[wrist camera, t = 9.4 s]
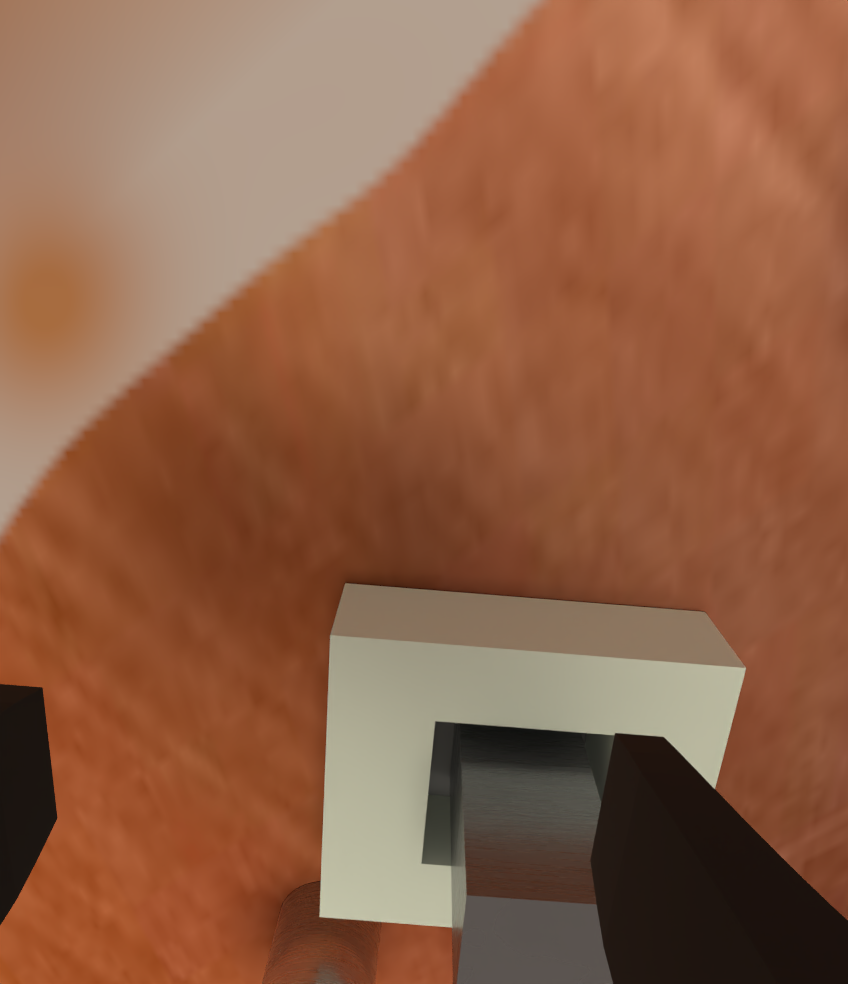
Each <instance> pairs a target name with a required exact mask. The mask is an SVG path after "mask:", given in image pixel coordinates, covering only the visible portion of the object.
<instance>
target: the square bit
mask: <svg viewBox="0 0 848 984" xmlns="http://www.w3.org/2000/svg"><path fill="white" fill-rule="evenodd" d="M600 807H601V801H600V797H599V794H598V790H597V787H596V783H595V780H594V776H593V773H592V770H591V766H590V763H589V759H588V756H587V752H586V749H585V745H584V742H583V738H582V735H581V733H579V732H566V731H554V730H541V729H529V728H516V727H503V726H491V725H478V724H465V723H455V727H454V737H453V748H452V758H451V768H450V826H451V890H452V954H453V984H613V981H612V978H611V974H610V970H609V966H608V962H607V958H606V954H605V950H604V947H603V941H602V935H601V928H600V922H599V916H598V910H597V904H596V897H595V890H594V883H593V876H592V869H591V862H590V858H591V853H592V848H593V843H594V838H595V833H596V828H597V823H598V818H599V812H600Z"/></svg>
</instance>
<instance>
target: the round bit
mask: <svg viewBox="0 0 848 984" xmlns="http://www.w3.org/2000/svg"><path fill="white" fill-rule="evenodd" d="M320 890H321V882H314V883H310V884H307V885H304V886H302V887H300V888H298V889H296V890H295V891H293V892H292V893H291V894H290V895H289V896H288V897H287V898H286V899H285V901H284V902H283V904H282V907H281V909H280V913H279V917H278V921H277V925H276V929H275V933H274V937H273V941H272V945H271V949H270V953H269V957H268V961H267V965H266V969H265V973H264V977H263V981H262V984H375V982H376V971H377V961H378V950H379V939H380V929H381V922H376V921H364V920H351V919H338V918H325V917H319V916H320Z"/></svg>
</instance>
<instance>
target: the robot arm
mask: <svg viewBox="0 0 848 984" xmlns="http://www.w3.org/2000/svg"><path fill="white" fill-rule="evenodd" d="M56 820H57V811H56V802H55V794H54V785H53V776H52V767H51V759H50V750H49V741H48V732H47V724H46V715H45V706H44V697H43V688H41V687H29V686H16V685H3V684H0V925H1V923H2V922H3V920H4V919H5V917H6V915H7V914H8V912H9V911H10V909H11V908H12V906H13V904H14V903H15V901H16V899H17V898H18V896H19V894H20V892H21V890H22V888H23V886H24V884H25V882H26V880H27V878H28V877H29V875H30V873H31V871H32V869H33V867H34V865H35V863H36V861H37V859H38V857H39V855H40V853H41V851H42V849H43V847H44V845H45V843H46V840H47V838H48V836H49V834H50V832H51V830H52V828H53V826H54V824H55V822H56ZM590 862H591V869H592V876H593V883H594V890H595V897H596V904H597V910H598V916H599V922H600V928H601V935H602V941H603V947H604V950H605V954H606V958H607V962H608V966H609V970H610V974H611V978H612V981H613V984H848V920H847V919H845V918H844V917H843V916H842V915H841V914H840V913H839V912H838V911H837V910H836V909H834V908H833V907H832V906H831V905H830V904H829V903H828V902H827V901H826V900H825V899H824V898H823V897H822V896H821V895H820V894H819V893H818V892H817V891H816V890H815V889H813V888H812V887H811V886H810V885H809V884H808V883H807V882H806V881H805V880H804V879H803V878H802V877H801V876H800V875H799V874H798V873H797V872H796V871H795V870H794V869H793V868H792V867H791V866H790V865H789V864H788V863H787V862H786V861H785V860H784V859H783V858H782V857H781V856H780V855H779V854H778V853H777V852H776V851H775V850H774V849H773V848H772V847H771V846H770V845H769V844H768V843H767V842H766V841H765V840H764V839H763V838H762V837H761V836H760V835H759V834H758V833H757V832H756V831H755V830H754V829H753V828H752V827H751V826H750V825H749V824H748V823H747V822H746V821H745V820H744V819H743V818H742V817H741V816H740V815H739V814H738V813H737V812H736V811H735V810H734V809H733V808H732V807H731V806H730V804H729V803H728V802H727V801H726V800H725V799H724V798H723V797H722V796H721V795H720V794H719V793H718V792H717V791H716V790H715V789H714V788H713V787H712V786H711V785H710V784H709V783H708V782H707V781H706V779H705V778H704V777H703V776H702V775H701V774H700V773H699V772H698V771H697V770H696V769H695V768H694V767H693V766H692V765H691V764H690V763H689V762H688V761H687V760H686V759H685V758H684V757H683V756H682V755H681V753H680V752H679V751H678V750H677V749H676V748H675V747H674V746H673V745H672V744H671V743H670V742H668V741H667V740H666V739H665V738H664V737H660V736H648V735H635V734H623V733H615V736H614V741H613V746H612V751H611V756H610V761H609V767H608V772H607V777H606V782H605V787H604V792H603V797H602V802H601V807H600V812H599V818H598V823H597V828H596V833H595V838H594V843H593V848H592V853H591V858H590Z"/></svg>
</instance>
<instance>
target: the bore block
mask: <svg viewBox="0 0 848 984" xmlns="http://www.w3.org/2000/svg"><path fill="white" fill-rule="evenodd" d="M745 671H746V667H745V666H744V665H743V663H742V662H741V660H740V659H739V658H738V656H737V655H736V654H735V652H734V651H733V649H732V648H731V647H730V645H729V644H728V643H727V641H726V640H725V638H724V637H723V636H722V634H721V633H720V632H719V630H718V629H717V628H716V626H715V625H714V623H713V622H712V621H711V619H710V618H709V617H708V615H707V614H706V612H701V611H688V610H676V609H663V608H650V607H638V606H625V605H613V604H600V603H588V602H575V601H562V600H550V599H537V598H525V597H512V596H500V595H487V594H475V593H462V592H449V591H437V590H424V589H412V588H399V587H387V586H374V585H361V584H349V583H345V586H344V589H343V593H342V596H341V600H340V603H339V607H338V610H337V613H336V617H335V620H334V624H333V627H332V631H331V634H330V654H329V680H328V706H327V733H326V759H325V785H324V811H323V837H322V864H321V890H320V916H319V917H325V918H338V919H351V920H364V921H376V922H389V923H402V924H415V925H427V926H440V927H452V890H451V826H450V768H451V758H452V748H453V737H454V727H455V723H465V724H478V725H491V726H503V727H516V728H529V729H541V730H554V731H566V732H579V733H581V735H582V738H583V742H584V745H585V749H586V752H587V756H588V759H589V763H590V766H591V770H592V773H593V776H594V780H595V783H596V787H597V790H598V794H599V797H600V801H601V802H602V797H603V792H604V787H605V782H606V777H607V772H608V767H609V761H610V756H611V751H612V746H613V741H614V736H615V733H623V734H635V735H648V736H660V737H664V738H665V739H666V740H667V741H668V742H670V743H671V744H672V745H673V746H674V747H675V748H676V749H677V750H678V751H679V752H680V753H681V755H682V756H683V757H684V758H685V759H686V760H687V761H688V762H689V763H690V764H691V765H692V766H693V767H694V768H695V769H696V770H697V771H698V772H699V773H700V774H701V775H702V776H703V777H704V778H705V779H706V781H707V782H708V783H709V784H710V785H711V786H712V787H713V788H714V789H715V787H716V783H717V779H718V775H719V771H720V767H721V764H722V760H723V756H724V752H725V748H726V744H727V740H728V736H729V733H730V729H731V725H732V721H733V717H734V713H735V709H736V705H737V702H738V698H739V694H740V690H741V686H742V682H743V678H744V674H745Z"/></svg>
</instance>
